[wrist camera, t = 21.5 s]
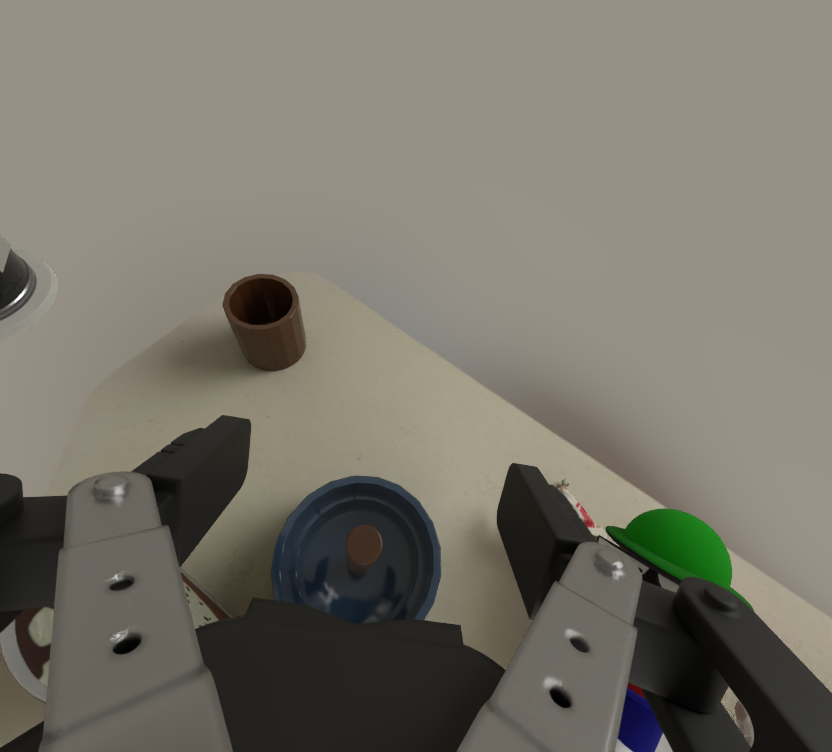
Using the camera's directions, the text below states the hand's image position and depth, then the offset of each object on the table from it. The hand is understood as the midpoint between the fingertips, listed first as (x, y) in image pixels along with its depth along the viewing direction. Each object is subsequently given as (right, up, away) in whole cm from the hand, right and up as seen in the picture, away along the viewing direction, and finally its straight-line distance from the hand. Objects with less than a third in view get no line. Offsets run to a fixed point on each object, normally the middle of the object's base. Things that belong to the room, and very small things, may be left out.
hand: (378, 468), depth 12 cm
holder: (-13, +6, +28) cm, 32 cm away
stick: (-3, -12, +19) cm, 23 cm away
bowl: (-3, -12, +20) cm, 23 cm away
